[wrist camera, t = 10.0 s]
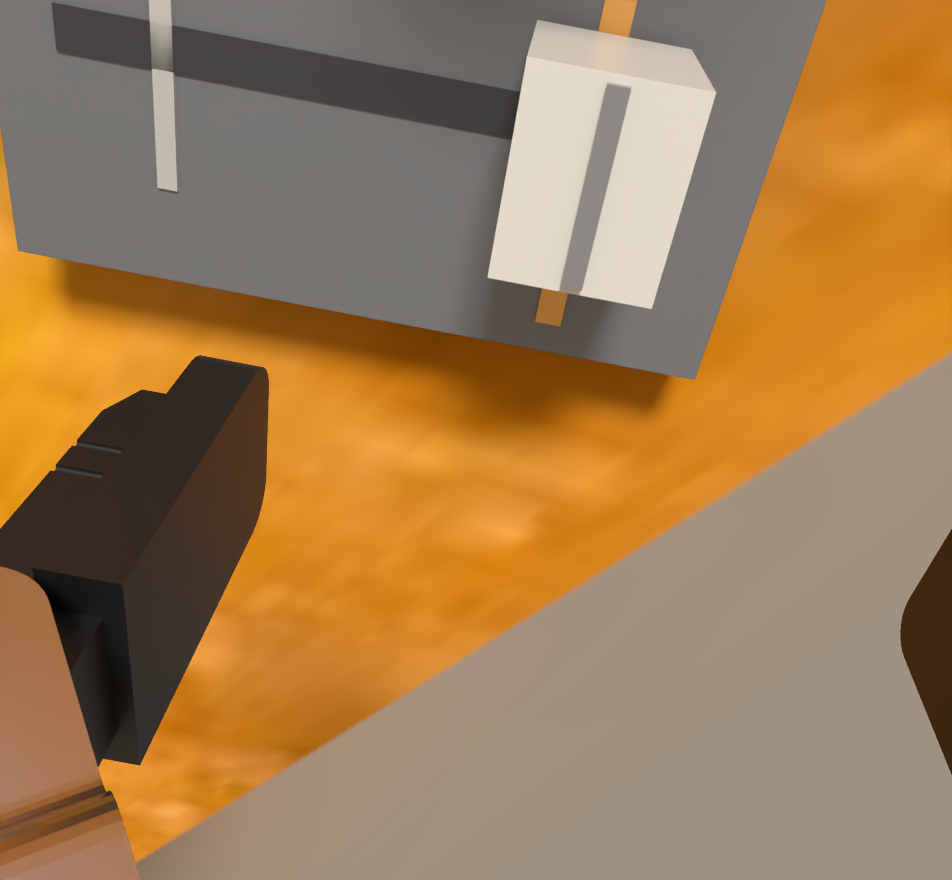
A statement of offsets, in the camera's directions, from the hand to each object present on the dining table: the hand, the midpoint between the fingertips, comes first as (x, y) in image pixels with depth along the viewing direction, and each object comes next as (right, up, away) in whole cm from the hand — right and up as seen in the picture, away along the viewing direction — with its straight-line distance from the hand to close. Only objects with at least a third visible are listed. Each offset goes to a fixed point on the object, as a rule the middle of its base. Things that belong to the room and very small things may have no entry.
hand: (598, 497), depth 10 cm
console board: (-4, +12, +16) cm, 21 cm away
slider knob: (+2, +9, +14) cm, 16 cm away
